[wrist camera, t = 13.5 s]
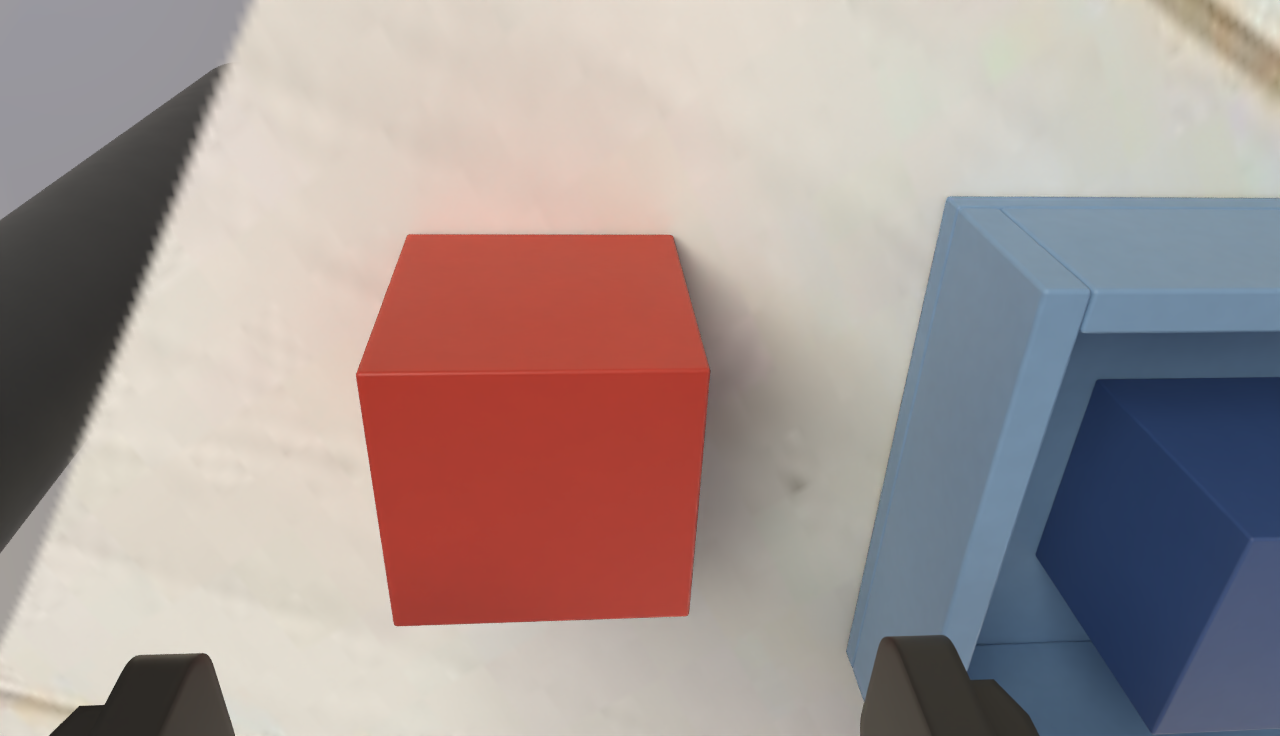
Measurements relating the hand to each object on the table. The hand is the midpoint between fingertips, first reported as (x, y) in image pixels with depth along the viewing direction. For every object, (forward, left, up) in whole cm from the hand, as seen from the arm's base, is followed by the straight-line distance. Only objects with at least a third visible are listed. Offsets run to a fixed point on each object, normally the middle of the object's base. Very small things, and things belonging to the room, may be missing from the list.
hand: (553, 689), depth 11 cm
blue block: (+14, -3, -8) cm, 16 cm away
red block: (0, 0, -9) cm, 9 cm away
